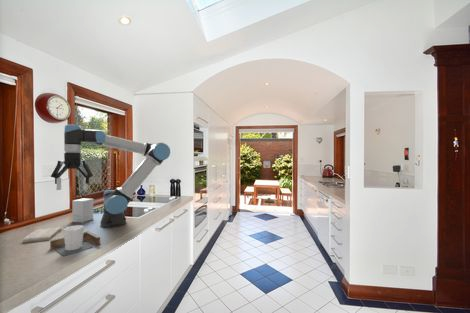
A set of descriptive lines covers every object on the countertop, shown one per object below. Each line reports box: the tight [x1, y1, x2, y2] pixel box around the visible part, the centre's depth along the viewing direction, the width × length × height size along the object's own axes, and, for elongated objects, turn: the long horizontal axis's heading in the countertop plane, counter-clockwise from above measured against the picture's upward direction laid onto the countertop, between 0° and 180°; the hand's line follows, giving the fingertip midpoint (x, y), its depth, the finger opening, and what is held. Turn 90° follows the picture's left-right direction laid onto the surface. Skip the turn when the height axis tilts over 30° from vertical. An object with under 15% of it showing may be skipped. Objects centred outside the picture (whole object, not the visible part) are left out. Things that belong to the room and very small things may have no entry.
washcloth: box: [22, 226, 63, 244], centre depth 121 cm, size 12×18×3 cm, turn 23°
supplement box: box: [71, 198, 94, 223], centre depth 151 cm, size 9×9×15 cm
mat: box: [54, 240, 93, 257], centre depth 105 cm, size 12×12×1 cm
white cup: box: [63, 224, 85, 251], centre depth 105 cm, size 8×8×10 cm
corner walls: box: [49, 230, 101, 250], centre depth 107 cm, size 16×14×4 cm
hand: (72, 189), depth 121 cm, fingers open, 13 cm apart
